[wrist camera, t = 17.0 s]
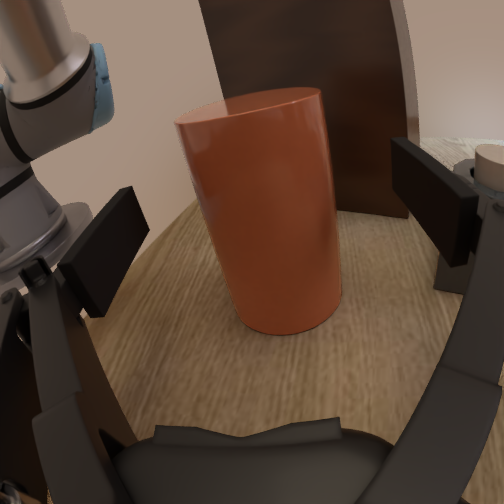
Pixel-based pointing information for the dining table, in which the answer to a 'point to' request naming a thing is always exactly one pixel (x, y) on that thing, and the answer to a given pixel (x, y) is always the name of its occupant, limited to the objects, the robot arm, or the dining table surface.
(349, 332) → the dining table surface
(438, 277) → the gray button box
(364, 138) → the stand
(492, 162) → the round white push button
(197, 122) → the orange cylinder
